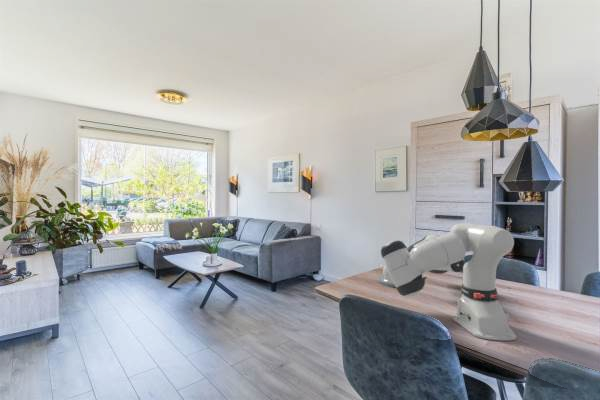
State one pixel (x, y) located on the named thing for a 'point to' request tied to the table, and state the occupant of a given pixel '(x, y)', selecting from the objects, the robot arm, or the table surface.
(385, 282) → the slate plate
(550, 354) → the table surface
